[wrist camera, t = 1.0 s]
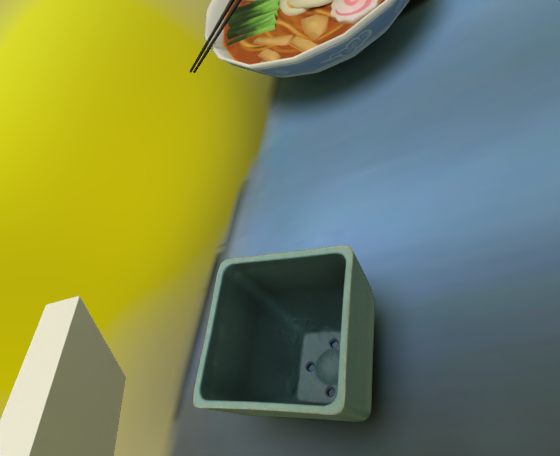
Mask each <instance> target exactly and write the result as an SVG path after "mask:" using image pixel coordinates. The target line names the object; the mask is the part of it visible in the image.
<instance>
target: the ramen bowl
mask: <svg viewBox="0 0 560 456" xmlns="http://www.w3.org/2000/svg"><path fill="white" fill-rule="evenodd" d="M409 1H410V0H211V3H210V5H209V7H208V9H207V11H206V23H205V37H204V38H205V40H206V43H205V45H204V47H203V49H202V51H201V52H200V54H199V56H198V57H197V59H196V61H195V63H194V65H193V66H192V68H191V70H190V72H192V70H193V69H194V67H195V65H196V64H197V62H198V60H199V59H200V57H201V56H202V54H203V52H204V50H205V49H206V47H207V45H208V44H209V47H208V48H207V50H206V52H205V53H204V55H203V57H202V58H201V60H200V62H199V63H198V65H197V67H196V68H195V70H194V71H193V72H194V73H195V72H196V70H197V69H198V67H199V66H200V64H201V63H202V61H203V59H204V58H205V57H206V55H207V53H208V52H209V50H210V49H212V50H213V52H214V53H215V54H216V56H217V57H218V58H219V59H221V60H223V61H225V62H227V63H230V64H232V65H235V66H238V67H241V68H245V69H248V70H251V71H255V72H258V73H262V74H265V75H269V76H273V77H293V76H299V75H306V74H313V73H319V72H321V71H323V70H325V69H328V68H330V67H332V66H334V65H337V64H339V63H341V62H343V61H346V60H348V59H350V58H352V57H354V56H356V55H357V54H358V53H359V52H361V51H362V50H363V49H365V48H366V47H367V46H368V45H370V44H371V43H372V42H373V41H375V40H376V39H377V38H379V37H380V36H381V35H382V34H384V33H385V32H386V31H387V30H388V28H389V27H390V26H391V25H392V23H393V22H394V21H395V19H396V18H397V17H398V15H399V14H400V13H401V11H402V10H403V9H404V8H405V6H406V5H407V4H408V2H409Z"/></svg>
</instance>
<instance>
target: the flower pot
mask: <svg viewBox="0 0 560 456" xmlns="http://www.w3.org/2000/svg"><path fill="white" fill-rule="evenodd" d="M374 320H375V306H374V298H373V293H372V290H371V287H370V285H369V282H368V280H367V278H366V276H365V274H364V272H363V270H362V268H361V266H360V264H359V262H358V260H357V258H356V256H355V254H354V252H353V250H352V248H351V247H349V246H334V247H325V248H319V249H312V250H302V251H293V252H286V253H276V254H269V255H257V256H250V257H239V258H231V259H227V260H225V261H223V262H222V263H221V265H220V267H219V270H218V274H217V278H216V283H215V288H214V295H213V301H212V306H211V310H210V316H209V321H208V326H207V332H206V337H205V341H204V347H203V351H202V355H201V358H200V365H199V369H198V374H197V378H196V383H195V389H194V396H193V403H194V406H195V407H197V408H204V409H210V410H216V411H222V412H229V413H235V414H241V415H249V416H273V417H293V418H310V419H325V420H338V421H350V422H361V421H364V420H366V419H367V418H368V417H369V416H370V413H371V405H372V369H373V341H374ZM333 341H337V342H338V345H337V346H336V347H334V348H333V347H332V346H331V344H332V342H333ZM310 364H313V365H314V370H313V371H309V370H308V366H309V365H310ZM331 388H332V389H334V390H335V393H334V395H333V396H329V395H328V390H329V389H331Z"/></svg>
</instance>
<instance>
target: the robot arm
mask: <svg viewBox="0 0 560 456" xmlns="http://www.w3.org/2000/svg"><path fill="white" fill-rule="evenodd" d="M125 378H126V377H125V375H124V373H123V372H122V370H121V368H120V367H119V365H118V363H117V361H116V359H115V358H114V356H113V354H112V352H111V351H110V349H109V347H108V345H107V344H106V342H105V340H104V338H103V337H102V335H101V333H100V331H99V329H98V328H97V326H96V324H95V322H94V321H93V319H92V317H91V315H90V314H89V312H88V310H87V308H86V307H85V305H84V303H83V301H82V300H81V298H80V296H77V297H74V298H70V299H67V300H63V301H59V302H55V303H51V304H47V305H46V307H45V309H44V312H43V314H42V317H41V319H40V322H39V324H38V327H37V329H36V332H35V334H34V337H33V339H32V342H31V344H30V347H29V349H28V352H27V355H26V357H25V360H24V362H23V365H22V367H21V370H20V372H19V375H18V378H17V380H16V382H15V385H14V387H13V390H12V392H11V395H10V397H9V400H8V402H7V405H6V408H5V410H4V412H3V415H2V417H1V420H0V456H114V450H115V443H116V437H117V430H118V424H119V417H120V410H121V403H122V398H123V391H124V385H125Z"/></svg>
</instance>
